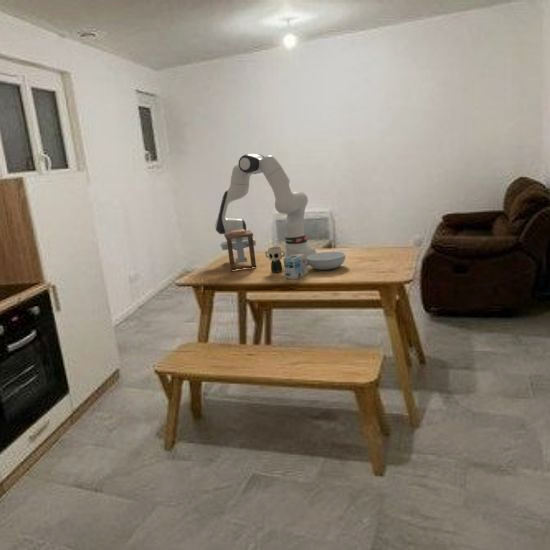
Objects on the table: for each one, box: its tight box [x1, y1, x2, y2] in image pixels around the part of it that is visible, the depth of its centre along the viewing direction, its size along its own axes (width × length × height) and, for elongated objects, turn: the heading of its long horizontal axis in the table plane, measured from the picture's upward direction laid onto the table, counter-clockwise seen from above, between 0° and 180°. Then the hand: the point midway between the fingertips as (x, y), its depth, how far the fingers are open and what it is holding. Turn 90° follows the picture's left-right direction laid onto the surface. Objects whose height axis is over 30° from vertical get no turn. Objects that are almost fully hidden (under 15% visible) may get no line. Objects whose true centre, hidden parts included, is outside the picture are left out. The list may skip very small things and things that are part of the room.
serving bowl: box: [306, 251, 346, 271], centre depth 260 cm, size 21×21×7 cm
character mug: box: [264, 246, 285, 273], centre depth 264 cm, size 11×7×13 cm, turn 73°
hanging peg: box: [230, 229, 248, 264], centre depth 281 cm, size 8×8×18 cm
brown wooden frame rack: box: [223, 229, 257, 271], centre depth 281 cm, size 14×15×20 cm
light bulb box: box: [282, 254, 308, 280], centre depth 249 cm, size 11×7×11 cm, turn 143°
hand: (239, 246), depth 281 cm, fingers open, 8 cm apart
